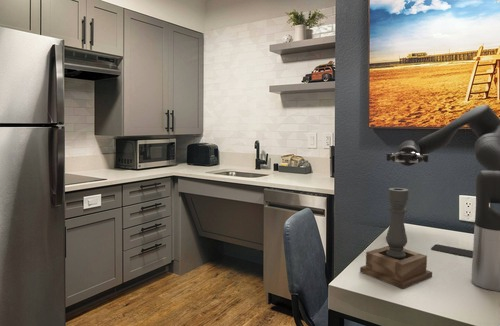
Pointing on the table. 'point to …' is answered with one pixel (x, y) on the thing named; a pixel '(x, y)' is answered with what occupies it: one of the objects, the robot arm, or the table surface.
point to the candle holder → (397, 223)
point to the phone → (453, 250)
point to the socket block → (396, 267)
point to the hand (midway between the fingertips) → (406, 159)
